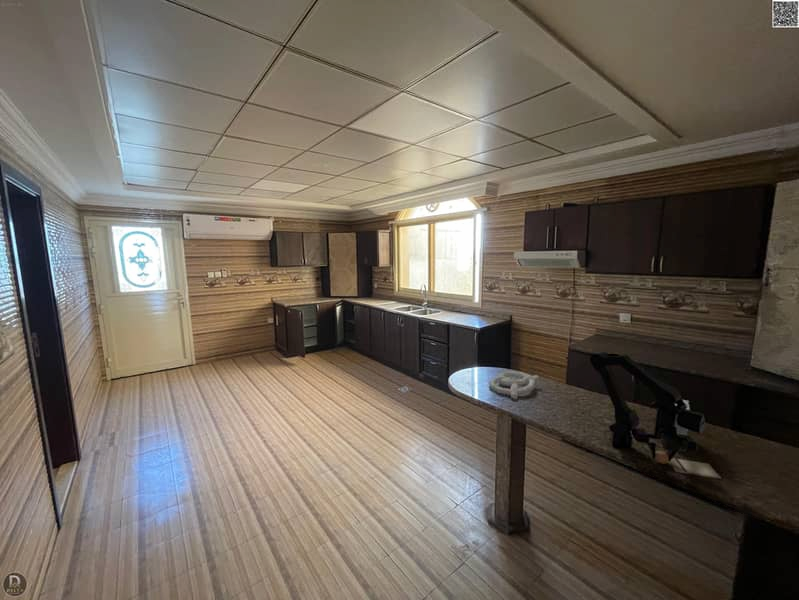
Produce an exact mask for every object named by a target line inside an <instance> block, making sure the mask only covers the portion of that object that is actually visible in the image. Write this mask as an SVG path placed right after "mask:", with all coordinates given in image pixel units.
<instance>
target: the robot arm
mask: <svg viewBox="0 0 799 600" xmlns="http://www.w3.org/2000/svg"><path fill="white" fill-rule="evenodd" d="M589 363H590V364H591V366H592V368H593V369H594V370H595V371H596V372H597V373H598V374H599V375H600V378H601V379H602V381H603V384H604V387H605V389H606V391H607V394H608V396H609V399H610V401H611V404H612V406H613V408H614V421H615V422H613V423H612V424H610V425H609V426H608V428H609V431H610V437H608V440H609V442H610V444H611V446H612V447H613V448H617V449H623V450H629V451H632V446H633V444H632V443H633V439H634V440H635V442H638V443H644V444H646V445H647V446H648V449H649V452H650V455H651V457H652V459H654V460H655V452H656V448H657V446H658V445H657V444H656V441H660V442H661V445H662V448H663V449H665V450H667V453H666V454H667V455H668V458H669V460H668V461H670V460H671V459H672V458H674V456H675V455H676V454H677V453H678V452H681V451H682V450H685V449H686V450H689V451H696V452H697V451H698V450H699V449H698V448H699V444H698V443H697V441H696V440H695V439H693V437H692V436H691V435H681V434H679V435H677V428H676V427H675V424H676V422H677V424H678V425H679V426H680V427H682V428H685V429H688V431H691V432H694V433H697V434H701V435H702V434H703V431H705V430H704V429H705V426H706V420H705V419H706V418H705V415H704V414H705V413H701V412H697V411H693V410H691V409H690V410H687V409H686V408H687V406H686V404H685V403H684V402H683V400H684V399H682V396H681V392H680V391H679V389H677V388H675V387H674V386H672V385H670V384H669V383H666V382H664V381H661V380H659V379H658V378H656V376H653V375H652V374H651V373H650V372H649V371H647V369H645V368H643V367H642V366H641V365H639V364H638V363H637V362H636V361H634V360H633V359H632V358H631V357H630V356H629V355H628V354H627V353H622V354H621V353H611V352H610V353H609V352H607V351H603V350H602V351H598V352H596V353H593V354H591V355H590V358H589ZM614 366H619V367H621V368H623V369H624V370H625V371H626V372H627V373H628V374H630V375H631V376H632V377H633V378H635V379H636V380H637V381H639V383H641V384H642V385H643V386H645V387H646V388H647V390H649V392H650V393H651V396H652V397H653V398H654V400H655V401H653V402H651V403H650V405H649V406H651V407H652V408H656V414H655V418H654V419H653V422H654V428H653V429H652V432H653V433H648V432H647V431H646V430H645V429H644V428H638V427H639V425H640V420H641V418H640V417H639V416H638V413H637V410H636V409H632V408H630V407H629V406H628V403H627V401H626V398H625V396H624V395H623V393H622V390H621V388H620V386H619V383H618V380H617V378H616V376H615V374H614ZM675 403H676V404H677V406H675ZM676 416H677V419H676ZM686 450H685V451H686Z"/></svg>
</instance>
